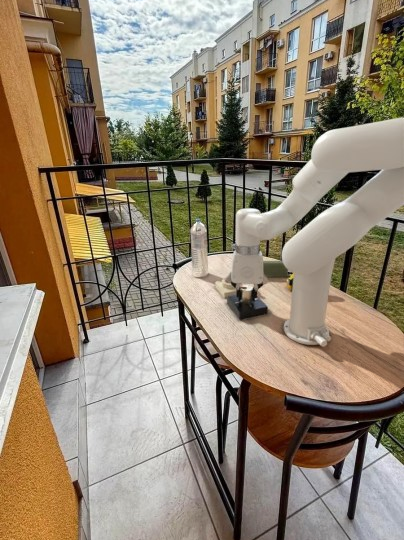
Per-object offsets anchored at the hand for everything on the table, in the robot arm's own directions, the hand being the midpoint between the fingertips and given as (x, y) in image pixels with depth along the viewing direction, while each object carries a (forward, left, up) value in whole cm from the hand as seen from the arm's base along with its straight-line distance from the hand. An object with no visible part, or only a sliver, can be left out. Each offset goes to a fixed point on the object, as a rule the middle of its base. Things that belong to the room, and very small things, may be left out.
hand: (246, 298), depth 95 cm
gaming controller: (+4, -26, -4) cm, 27 cm away
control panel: (0, 0, -4) cm, 4 cm away
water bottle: (+32, +7, -4) cm, 34 cm away
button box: (+14, 0, -4) cm, 15 cm away
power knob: (0, 0, -1) cm, 1 cm away
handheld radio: (+20, -21, -4) cm, 30 cm away
